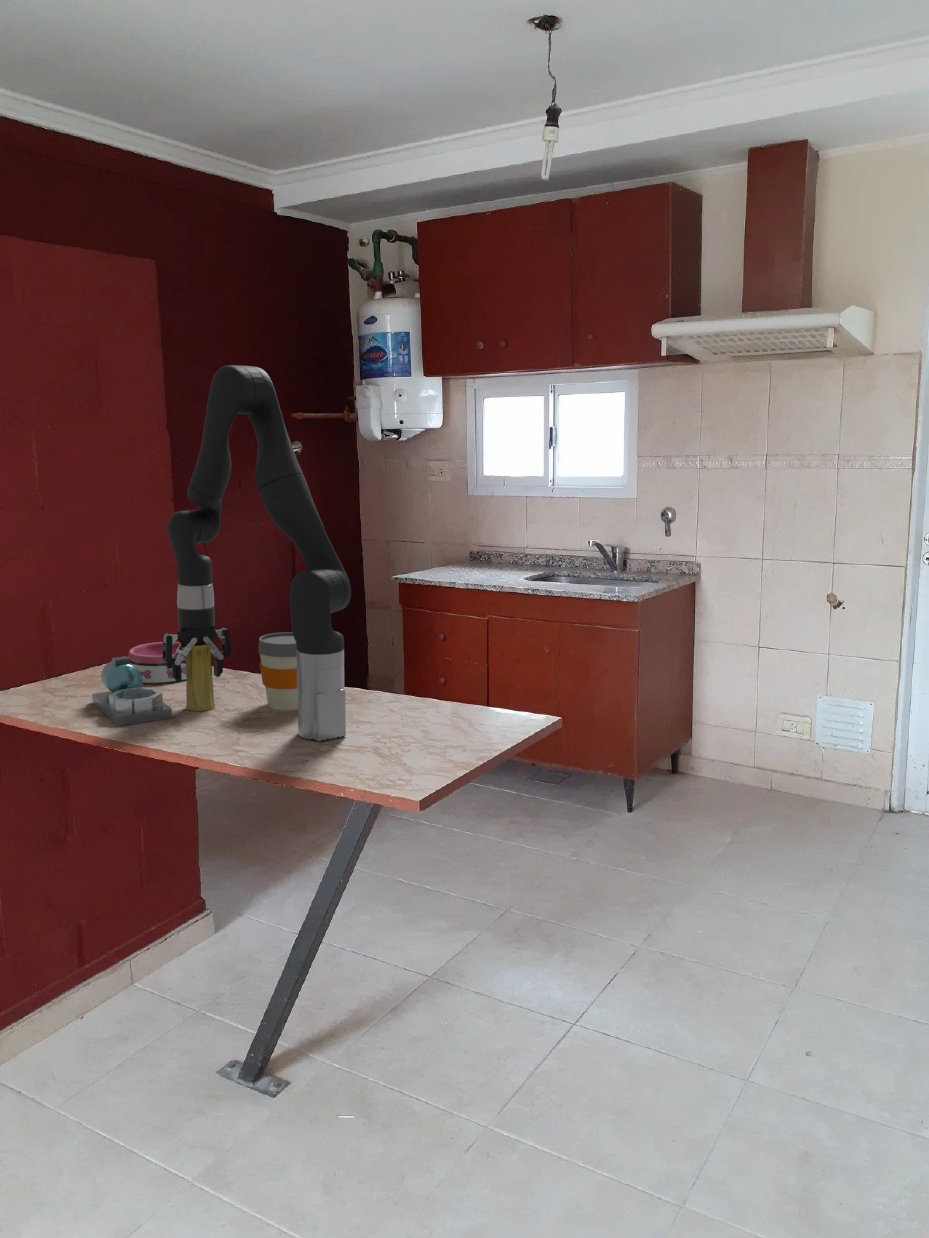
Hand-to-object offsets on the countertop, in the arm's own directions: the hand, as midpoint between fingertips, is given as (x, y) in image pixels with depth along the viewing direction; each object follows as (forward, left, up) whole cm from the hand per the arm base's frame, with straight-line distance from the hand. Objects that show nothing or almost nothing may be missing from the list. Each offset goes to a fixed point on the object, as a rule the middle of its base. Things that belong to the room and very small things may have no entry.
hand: (198, 678), depth 206 cm
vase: (0, 0, -7) cm, 7 cm away
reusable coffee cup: (-8, -17, -7) cm, 20 cm away
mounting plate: (+6, +13, -6) cm, 15 cm away
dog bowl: (+32, -2, -7) cm, 32 cm away
